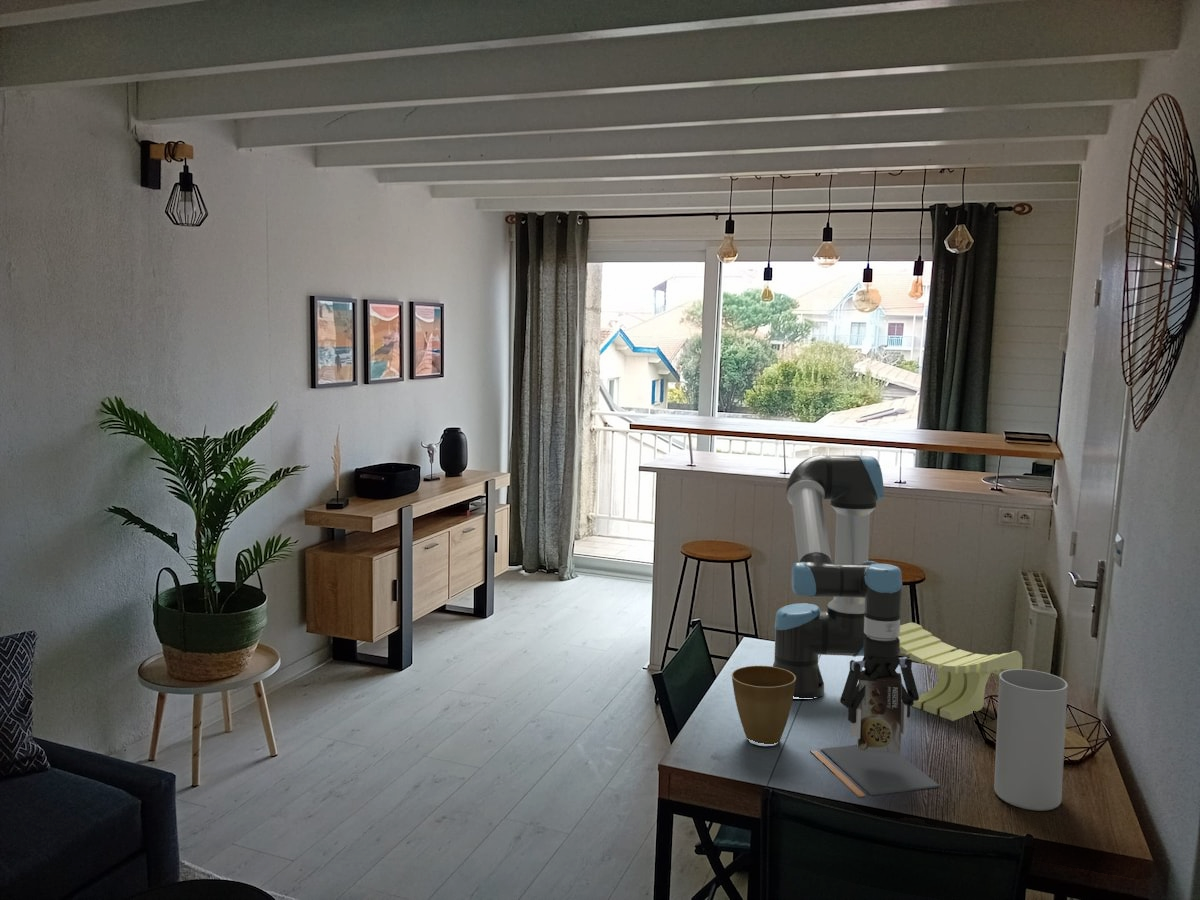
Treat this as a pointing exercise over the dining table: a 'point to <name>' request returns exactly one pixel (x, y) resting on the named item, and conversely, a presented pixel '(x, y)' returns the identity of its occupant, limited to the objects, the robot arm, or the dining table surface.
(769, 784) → the dining table surface
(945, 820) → the dining table surface
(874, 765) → the mat
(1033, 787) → the cylinder vase
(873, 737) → the coffee box
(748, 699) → the plant pot
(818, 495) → the robot arm
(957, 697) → the slatted curved stool
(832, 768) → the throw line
